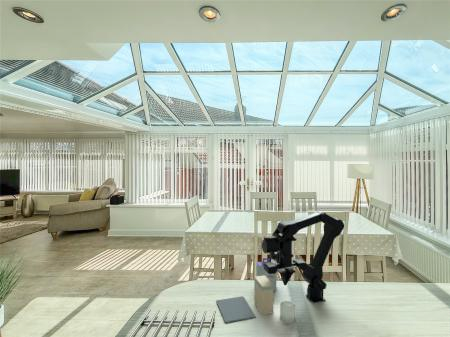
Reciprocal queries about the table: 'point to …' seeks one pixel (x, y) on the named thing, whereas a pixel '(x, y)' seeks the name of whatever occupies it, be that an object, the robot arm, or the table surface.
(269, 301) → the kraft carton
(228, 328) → the table surface
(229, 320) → the mat
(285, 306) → the white rounded cylinder
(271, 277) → the product box
